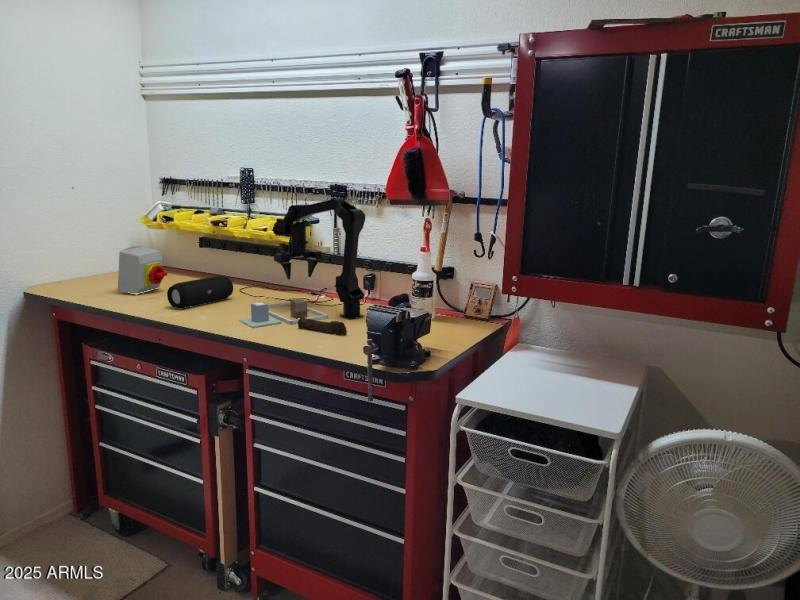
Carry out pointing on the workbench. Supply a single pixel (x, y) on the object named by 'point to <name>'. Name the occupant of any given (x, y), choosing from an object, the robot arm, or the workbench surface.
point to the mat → (254, 324)
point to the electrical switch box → (139, 269)
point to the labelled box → (259, 312)
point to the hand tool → (323, 326)
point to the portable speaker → (199, 291)
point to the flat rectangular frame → (321, 316)
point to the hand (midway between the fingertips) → (299, 278)
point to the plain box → (298, 308)
